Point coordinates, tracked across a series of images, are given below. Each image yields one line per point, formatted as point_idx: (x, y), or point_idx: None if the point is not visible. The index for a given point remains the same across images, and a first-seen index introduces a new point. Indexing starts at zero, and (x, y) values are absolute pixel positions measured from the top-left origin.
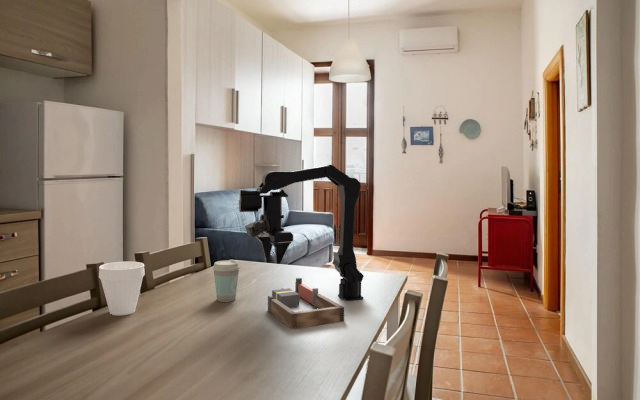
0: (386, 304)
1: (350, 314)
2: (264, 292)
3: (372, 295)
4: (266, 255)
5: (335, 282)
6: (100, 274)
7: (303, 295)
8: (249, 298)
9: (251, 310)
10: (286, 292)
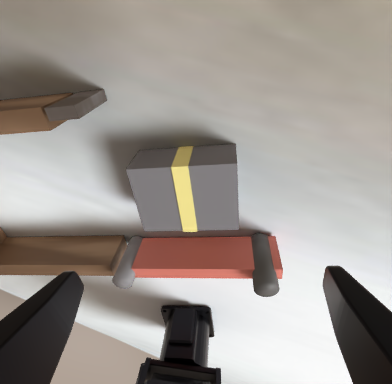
0: (123, 340)
1: None
2: (374, 149)
3: None
4: (337, 295)
5: None
6: None
7: (206, 244)
8: (315, 53)
9: (112, 13)
10: (177, 202)
